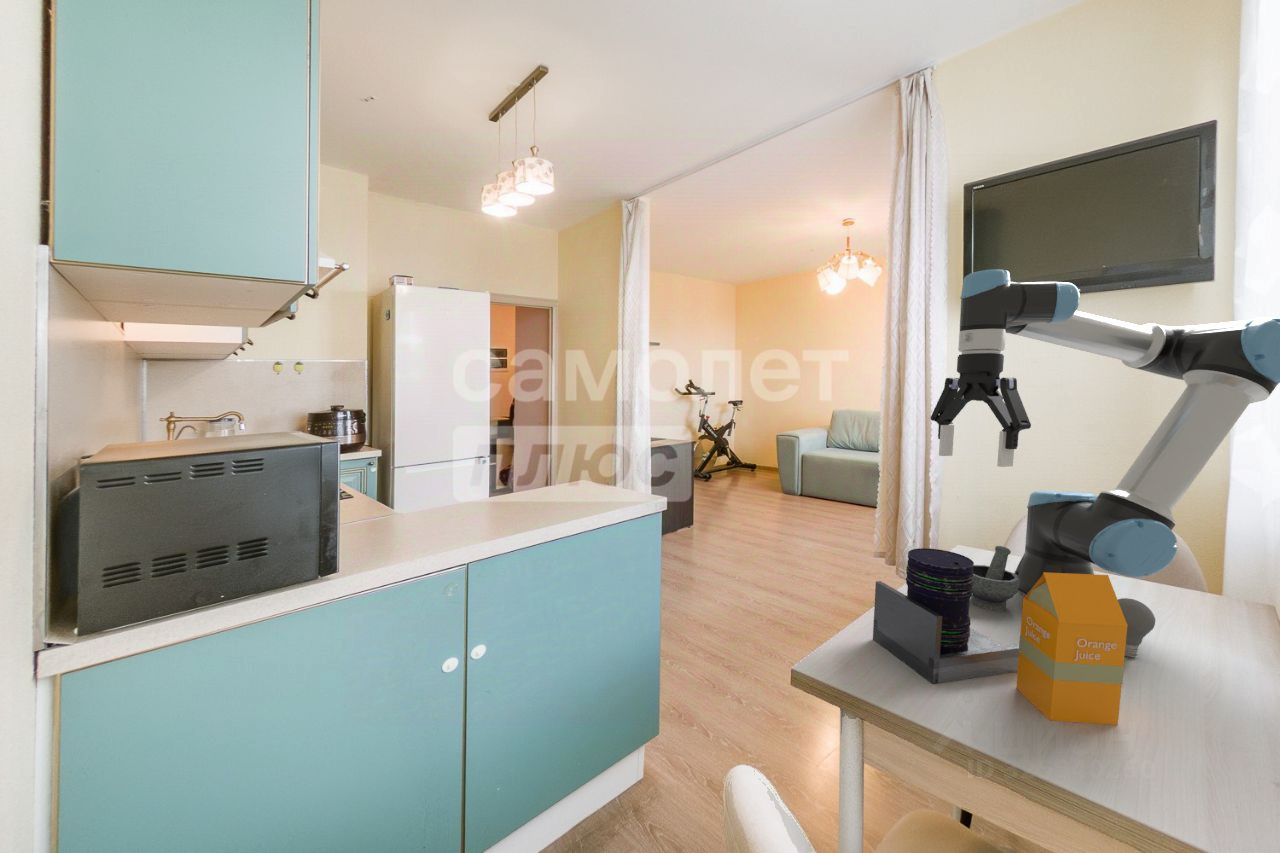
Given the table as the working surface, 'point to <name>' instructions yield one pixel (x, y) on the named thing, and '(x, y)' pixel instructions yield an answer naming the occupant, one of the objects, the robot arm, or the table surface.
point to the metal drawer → (933, 641)
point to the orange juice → (1072, 648)
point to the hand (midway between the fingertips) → (973, 460)
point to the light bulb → (1136, 623)
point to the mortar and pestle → (994, 582)
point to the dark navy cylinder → (943, 592)
